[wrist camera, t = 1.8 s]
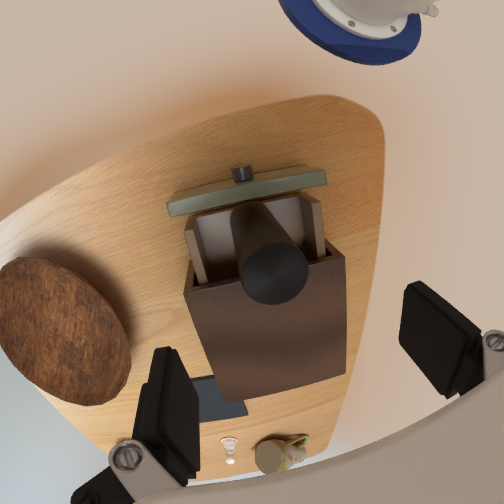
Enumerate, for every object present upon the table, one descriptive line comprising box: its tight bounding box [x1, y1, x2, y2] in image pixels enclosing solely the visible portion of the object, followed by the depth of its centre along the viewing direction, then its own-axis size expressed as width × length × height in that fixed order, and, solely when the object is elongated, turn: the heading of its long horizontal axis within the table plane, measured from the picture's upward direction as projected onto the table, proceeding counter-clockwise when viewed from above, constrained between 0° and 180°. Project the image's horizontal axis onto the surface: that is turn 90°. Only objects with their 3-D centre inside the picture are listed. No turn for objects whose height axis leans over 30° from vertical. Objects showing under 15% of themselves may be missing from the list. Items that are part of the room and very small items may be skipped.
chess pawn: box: [221, 437, 237, 464], centre depth 39 cm, size 3×3×5 cm
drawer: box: [166, 164, 327, 286], centre depth 25 cm, size 15×12×5 cm
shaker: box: [230, 201, 309, 305], centre depth 21 cm, size 4×4×11 cm
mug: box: [255, 435, 309, 475], centre depth 41 cm, size 8×10×10 cm
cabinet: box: [183, 238, 347, 403], centre depth 28 cm, size 15×14×7 cm
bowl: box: [0, 257, 131, 406], centre depth 27 cm, size 20×22×5 cm
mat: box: [191, 375, 248, 423], centre depth 36 cm, size 10×10×1 cm
